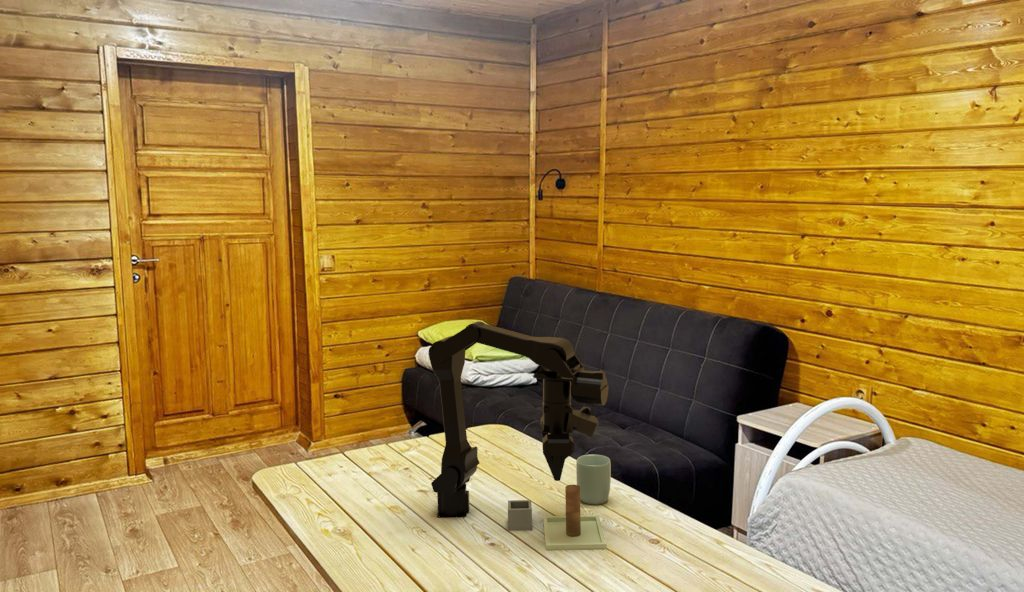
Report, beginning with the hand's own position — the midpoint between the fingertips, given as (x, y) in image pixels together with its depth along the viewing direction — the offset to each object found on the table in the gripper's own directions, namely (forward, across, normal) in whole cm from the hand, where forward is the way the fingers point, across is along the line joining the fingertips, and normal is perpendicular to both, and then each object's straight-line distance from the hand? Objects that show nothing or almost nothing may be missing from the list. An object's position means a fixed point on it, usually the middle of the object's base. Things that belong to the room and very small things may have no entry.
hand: (556, 472), depth 165 cm
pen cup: (+13, +1, +8) cm, 15 cm away
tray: (+12, -4, -4) cm, 13 cm away
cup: (+13, +14, -9) cm, 21 cm away
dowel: (+12, -4, -4) cm, 13 cm away
